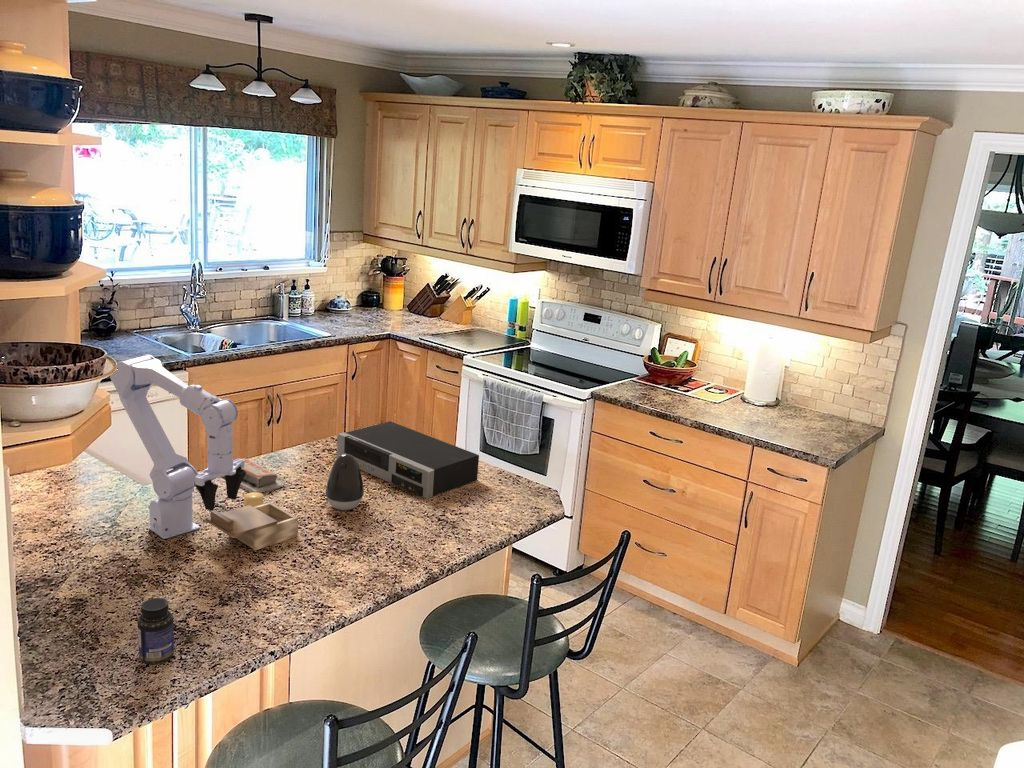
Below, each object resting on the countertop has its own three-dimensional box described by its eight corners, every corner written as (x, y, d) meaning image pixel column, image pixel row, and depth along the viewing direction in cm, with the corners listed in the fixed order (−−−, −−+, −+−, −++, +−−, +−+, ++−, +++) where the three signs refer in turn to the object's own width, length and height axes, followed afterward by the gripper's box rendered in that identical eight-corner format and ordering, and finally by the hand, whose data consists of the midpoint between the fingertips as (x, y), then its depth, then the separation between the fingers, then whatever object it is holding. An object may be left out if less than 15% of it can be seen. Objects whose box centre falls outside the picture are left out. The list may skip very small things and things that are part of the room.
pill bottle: (181, 651, 159) (180, 600, 156) (158, 669, 153) (156, 616, 150) (155, 643, 161) (153, 592, 158) (131, 660, 155) (129, 607, 152)
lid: (232, 538, 194) (232, 525, 193) (205, 520, 201) (205, 508, 200) (277, 524, 203) (277, 511, 202) (249, 507, 210) (249, 496, 209)
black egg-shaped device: (321, 513, 223) (323, 460, 218) (328, 497, 233) (330, 446, 228) (360, 515, 223) (362, 462, 219) (365, 500, 233) (367, 449, 229)
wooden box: (255, 550, 200) (255, 531, 198) (228, 532, 207) (228, 514, 206) (297, 536, 209) (297, 517, 207) (270, 519, 216) (270, 502, 215)
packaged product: (219, 461, 240) (249, 454, 247) (219, 477, 241) (249, 469, 248) (254, 480, 229) (285, 472, 236) (254, 496, 230) (285, 488, 237)
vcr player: (477, 481, 254) (479, 454, 252) (418, 503, 235) (420, 474, 233) (388, 445, 278) (389, 420, 276) (328, 462, 259) (329, 435, 257)
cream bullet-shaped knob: (250, 519, 216) (250, 501, 214) (240, 512, 219) (240, 495, 217) (267, 514, 219) (267, 496, 218) (256, 508, 222) (256, 490, 221)
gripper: (211, 463, 189) (212, 518, 193) (254, 445, 202) (254, 497, 206) (187, 457, 192) (188, 511, 195) (231, 439, 205) (231, 491, 208)
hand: (220, 503), depth 201 cm, fingers open, 7 cm apart
